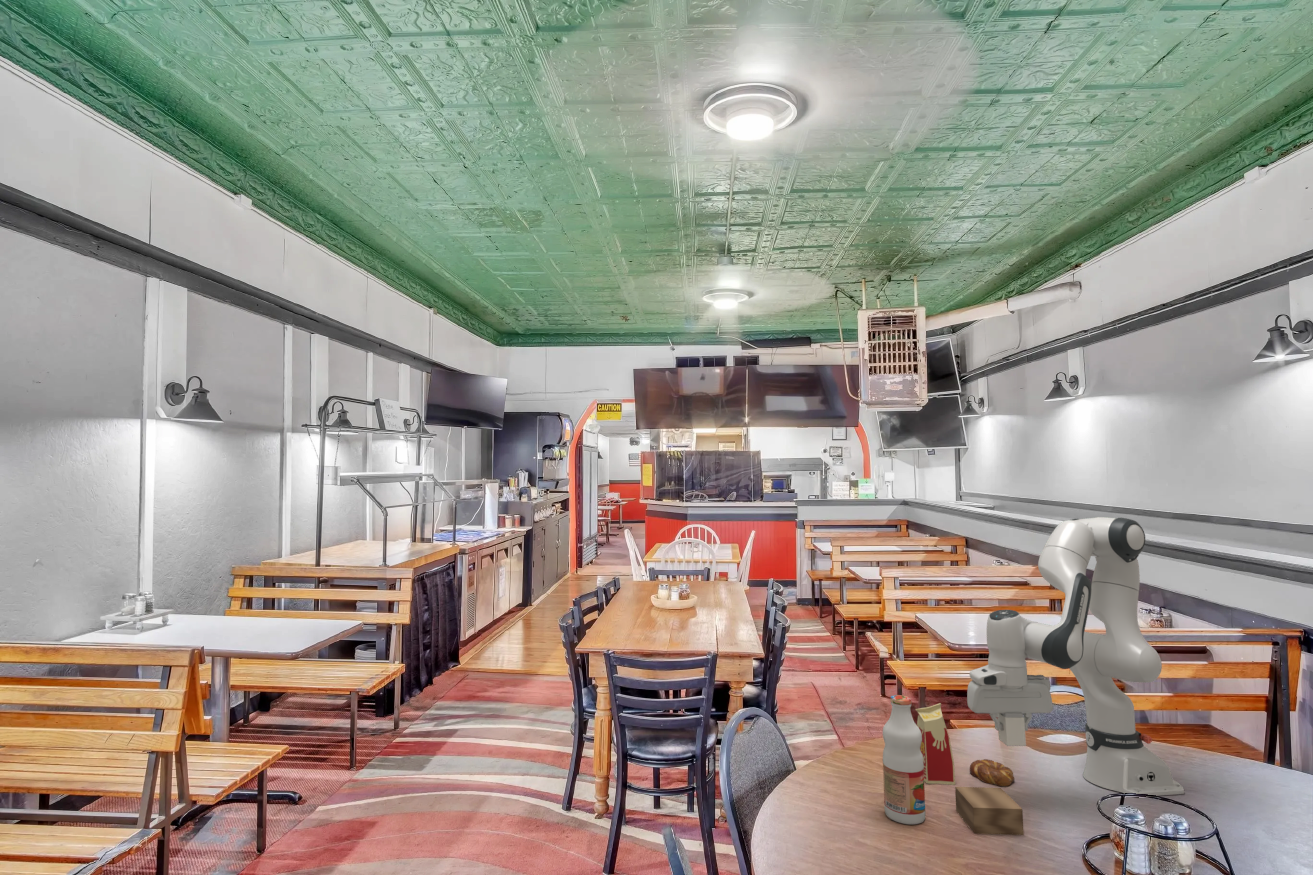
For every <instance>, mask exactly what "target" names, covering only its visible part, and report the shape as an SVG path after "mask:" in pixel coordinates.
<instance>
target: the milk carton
mask: <svg viewBox="0 0 1313 875" xmlns="http://www.w3.org/2000/svg"><path fill="white" fill-rule="evenodd" d="M941 707H942V703H941V702H939V703H937V704H934V705H930V706H927V707H921V708H915V711H916V712H917V723H916V725H917V726H918V728H919V729H920V731H921V734H922V743H921V747H920V750H921V753H922V756H923V763H924V783H926V784H929V785H931V784H933V785H937V784H938V785H939V784H940V785H950V786H951V785H952V786H956V770H955V760H954V759H955V758H954V755H953V754H954V753H953V750H952V743H951V739H950V735H949V732H948V729H947V726H946V723H945V720H944V719H945V718H944V716H943V713H942V708H941Z"/></svg>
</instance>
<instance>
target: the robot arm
mask: <svg viewBox="0 0 1313 875" xmlns="http://www.w3.org/2000/svg"><path fill="white" fill-rule="evenodd" d="M1145 545H1146V534H1145V531H1144V528H1143V527H1142V526H1141V525H1140V524H1139V522H1138V521H1136V520H1133V519H1131V518H1126V517H1107V516H1104V517H1103V516H1097V517H1088V518H1087V517H1086V518H1072V519H1068V520H1064V521H1062V522H1059V523H1058V525H1057V526H1056V527H1055V528H1054V529H1053V531H1052V532H1051V534H1050V535H1049V537H1048V539H1047V541H1046V543H1045V544H1044V547H1043V548H1042V551H1041V553H1040V555H1039V559H1038V563H1037V567H1038V571H1039V573H1040V575H1041V577H1042V578H1043V579H1044V580H1045V582H1047V583H1048V584H1050V585H1051V586H1052V587H1054V588H1056V590H1059V591H1060V592H1062V593H1064V595H1065V599H1064V603H1063V609H1062V612H1061V618H1060V621H1059V622H1058V623H1057V624H1054V625H1053V624H1046V623H1042V622H1037V621H1032V620H1030V619H1027V618H1025V617H1023V616H1022V615H1021V614H1020V613H1019V612H1018V611H1017V610H1012V609H998V610H994V611H992V612H991V613H989V614H988V617H987V622H986V645H987V649H988V652H989V653H988V659H987V664H985V665H983V666H981V667H978V668H974V669H972V670H970V671H969V678H970V679H971V681H969V683H968V685H967V693H966V695H967V697H966V699H967V700H966V701H967V706H968V709H969V710H971V711H972V712H974V713H975V714H989V716H990V718H991V720H992V721H993V722H994V729H995V730H996V731H998V732H999V731H1004V728H1003V727H1004V726H1003V723H1001V722H999V721H998V717H999V715H998V713H1023V717H1024V723H1025V732H1028V731H1029V726H1028V725H1029V723H1030V721H1031V720H1032V718H1033V714H1051V713H1052V712H1053V710H1054V704H1053V698H1052V694H1051V682H1050V679H1049V678H1048V677H1046V676H1044V674H1028V668H1027V662H1026V659H1030V660H1034V661H1037V662H1041V663H1046V664H1048V665H1050V666H1053V667H1057V668H1059V669H1062V670H1067V669H1069V670H1070V671H1071V672H1072V674H1073V675H1074V677H1075V678H1076V681H1077V682H1078V685H1079V686H1080V688H1081V691H1082V694H1083V699H1084V706H1085V715H1086V716H1085V717H1086V723H1085V724H1084V727H1085V728H1084V730H1085V741H1086V742H1085V743H1086V746H1087V748H1086V759H1085V766H1084V770H1083V774H1082V775H1083V778H1084V779H1085V780H1086V781H1088V782H1089V783H1091V784H1094V785H1095V786H1098V787H1100V788H1103V789H1107V790H1111V791H1114V792H1118V793H1119V792H1120V793H1123V794H1125V793H1136V794H1148V795H1156V796H1155V797H1158V796H1172V795H1173V796H1174V795H1184V794H1185V790H1184V787H1183V785H1181V784H1180V783H1179V782H1178V781H1177V780H1175V779H1174V778H1173V776H1172V773H1171V769H1170V767H1169V765H1168V764H1167V763H1166V762H1165V761H1164V760H1163V759H1162V758H1160V756H1158V755H1157V754H1155V753H1154V752H1153V751H1152V750H1150V749H1149V748H1148V747H1147V746H1145V745H1144V743H1146V744H1152V742H1153V738H1152V737H1151V736H1150V735H1148V734H1146V733H1141V732H1140V731H1137V730H1136V721H1135V720H1136V719H1135V718H1136V717H1135V716H1136V715H1135V706H1134V703H1133V701H1132V699H1131V698H1130V697H1129V696H1128V695H1127V693H1125V692H1123V691H1122V690H1121V689H1119V687H1118V686H1117V685H1116V684H1115V682H1114V679H1115V680H1116V679H1117V680H1120V681H1124V682H1130V683H1141V684H1143V683H1145V684H1146V683H1147V684H1148V683H1149V684H1150V683H1153V682H1155V681H1156V680H1157V679H1158V678H1159V677H1160V675H1161V672H1162V669H1163V667H1162V666H1163V663H1162V659H1161V657H1160V654H1159V653H1158V652H1157V650H1156V649H1155V648H1154V647H1153V646H1152V645H1150V643H1149V642H1148V641H1147V640H1146V639H1145V637H1144V635H1143V634H1142V631H1141V629H1140V625H1139V622H1138V604H1139V593H1140V583H1141V582H1140V581H1141V580H1140V576H1141V575H1140V566H1139V559H1138V557H1139V555H1140V554H1141V553H1142V551H1143V549H1144V547H1145ZM1091 557H1094V558H1095V562H1096V564H1095V568H1094V569H1093V570H1094V571H1093V575H1092V579H1091V580H1092V581H1091V580H1090V578H1089V577H1088V576H1087V574H1086V573H1087V567H1088V566H1089V562H1090V561H1091ZM1089 610H1090V612H1091V614H1092V616H1094V617H1095V618H1096V619H1098V620H1099V621H1100V622H1102V624H1104V628H1105V635H1104V634H1099V633H1093V632H1088V631H1085V629H1086V625H1087V620H1088V615H1089ZM1143 742H1144V743H1143Z"/></svg>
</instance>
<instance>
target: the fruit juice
mask: <svg viewBox="0 0 1313 875" xmlns="http://www.w3.org/2000/svg"><path fill="white" fill-rule="evenodd" d="M889 701H890V705H891V713H890V716H889V718H888V720H886V723H885V724H884V725H883V727H882V738H883V741H884V747H883V750H882V767H883V768H882V773H883V774H882V775H883V801H884V802H883V806H884V807H883V808H884V812H885V815H886V816H887V817H888V819H890V820H892V821H894V822H896V823H899V824H904V825H919V824H922V823H923V822H925V818H926V795H925V792H926V791H925V782H924V763H923V756H922V753H921V750H920V747H921V743H922V734H921V731H920V729H919V728H918V726H917V723H916V722H915V721H914V719H913V715H912V712H911V707H912V699H911V697H910V696H906V695H900V694H895V695H891V696H890V699H889Z"/></svg>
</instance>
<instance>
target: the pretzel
mask: <svg viewBox="0 0 1313 875" xmlns="http://www.w3.org/2000/svg"><path fill="white" fill-rule="evenodd" d="M969 773H970V774H971V775H972V776H973V777H974V778H978V779H979V781H983V782H984V783H985V784H989V785H996V786H999V787H1009V786H1010V785H1012V783H1014V781H1015V776H1014V772H1013V770H1012V769H1011V767H1008V766H1005V765H1004V764H1003V763H1000V762H998V761H994V760H992V759H986V758H985V759H976V760H974V761H973V762H971V763H970V765H969Z"/></svg>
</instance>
